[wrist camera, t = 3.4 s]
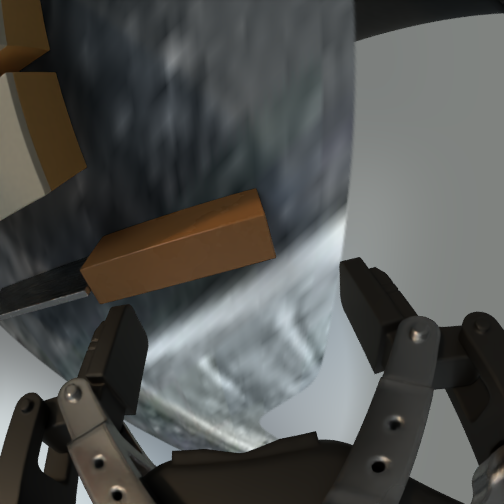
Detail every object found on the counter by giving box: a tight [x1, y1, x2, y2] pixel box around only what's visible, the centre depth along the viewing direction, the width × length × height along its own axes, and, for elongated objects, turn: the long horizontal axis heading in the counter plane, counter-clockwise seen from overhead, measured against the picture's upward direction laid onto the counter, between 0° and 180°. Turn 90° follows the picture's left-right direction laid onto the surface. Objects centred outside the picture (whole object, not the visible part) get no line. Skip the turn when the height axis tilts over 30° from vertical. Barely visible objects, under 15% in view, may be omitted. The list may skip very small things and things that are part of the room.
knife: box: [0, 189, 276, 320], centre depth 16 cm, size 22×2×4 cm, turn 105°
